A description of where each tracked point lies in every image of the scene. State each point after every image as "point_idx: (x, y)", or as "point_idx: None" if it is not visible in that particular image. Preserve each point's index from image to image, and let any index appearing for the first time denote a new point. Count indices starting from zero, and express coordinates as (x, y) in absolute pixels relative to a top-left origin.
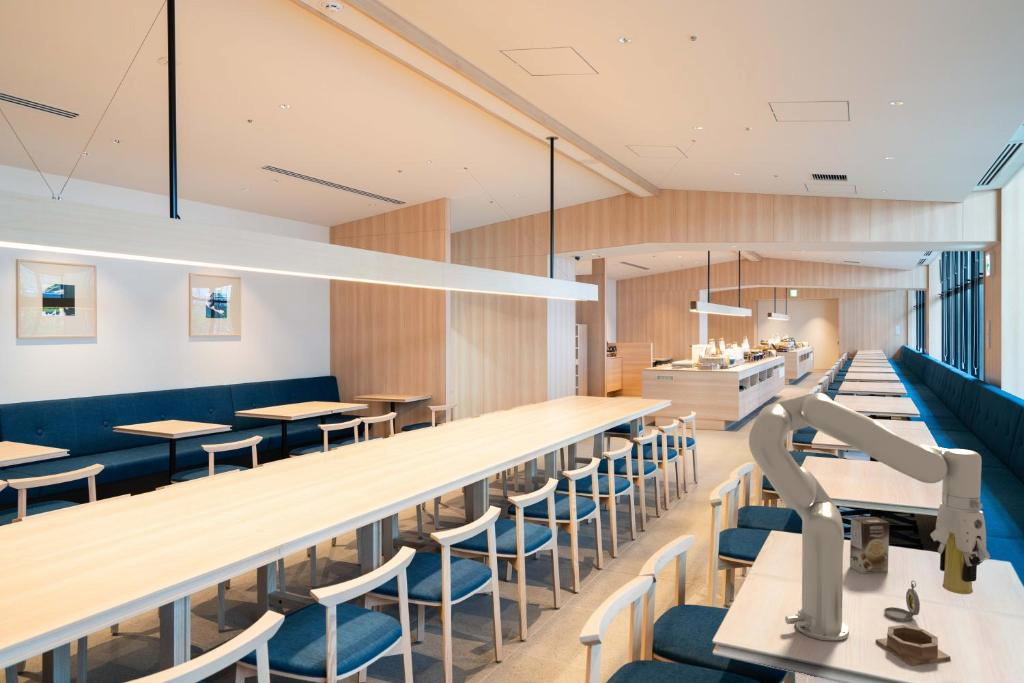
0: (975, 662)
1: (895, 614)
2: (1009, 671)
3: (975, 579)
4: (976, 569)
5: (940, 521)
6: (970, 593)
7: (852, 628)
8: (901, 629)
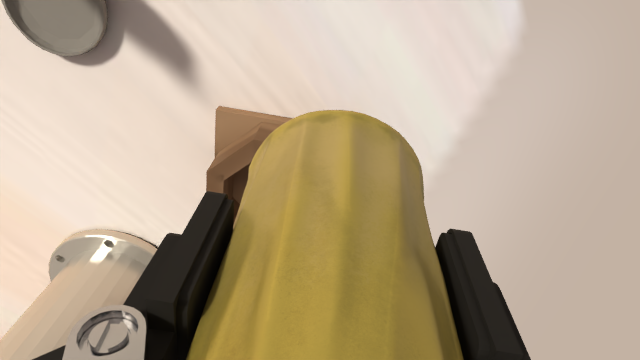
0: (414, 72)
1: (49, 3)
2: (509, 22)
3: (468, 239)
4: (525, 349)
5: None
6: (422, 190)
7: (127, 213)
8: (224, 189)
